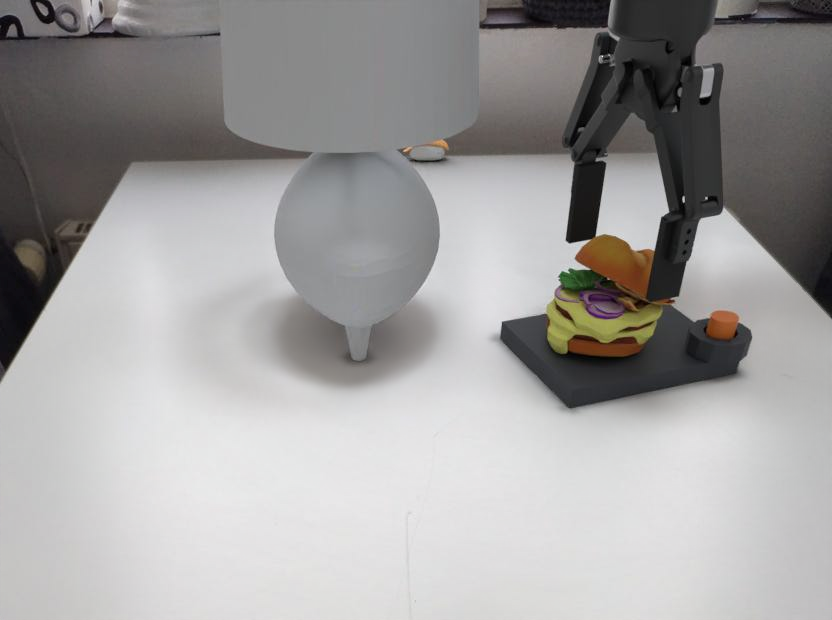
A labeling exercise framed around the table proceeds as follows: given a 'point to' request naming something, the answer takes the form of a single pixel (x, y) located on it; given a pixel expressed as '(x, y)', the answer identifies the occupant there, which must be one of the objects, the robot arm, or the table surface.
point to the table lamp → (352, 136)
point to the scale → (629, 358)
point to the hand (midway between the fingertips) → (618, 267)
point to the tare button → (722, 324)
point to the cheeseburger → (604, 301)
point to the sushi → (428, 151)
